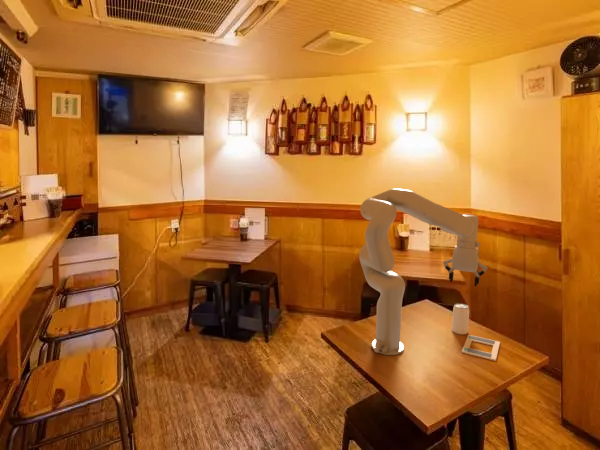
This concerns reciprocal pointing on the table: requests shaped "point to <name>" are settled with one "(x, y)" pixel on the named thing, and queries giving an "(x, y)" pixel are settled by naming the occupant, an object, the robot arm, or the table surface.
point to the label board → (481, 354)
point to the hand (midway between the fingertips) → (463, 283)
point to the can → (460, 318)
